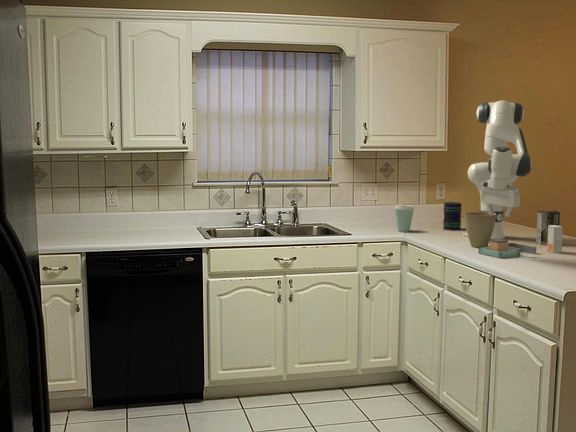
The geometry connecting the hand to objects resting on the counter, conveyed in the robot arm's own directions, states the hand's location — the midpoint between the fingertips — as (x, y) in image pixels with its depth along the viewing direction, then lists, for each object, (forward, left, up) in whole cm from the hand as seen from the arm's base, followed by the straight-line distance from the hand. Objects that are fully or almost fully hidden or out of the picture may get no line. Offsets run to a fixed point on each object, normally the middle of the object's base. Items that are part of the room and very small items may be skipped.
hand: (499, 215), depth 295 cm
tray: (0, 0, -18) cm, 18 cm away
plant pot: (-21, +8, -18) cm, 29 cm away
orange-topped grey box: (0, 0, -17) cm, 17 cm away
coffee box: (-12, +44, -18) cm, 49 cm away
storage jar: (-73, +37, -18) cm, 84 cm away
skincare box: (+6, +28, -18) cm, 34 cm away
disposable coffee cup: (-79, +8, -18) cm, 81 cm away
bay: (-1, +12, -18) cm, 21 cm away
